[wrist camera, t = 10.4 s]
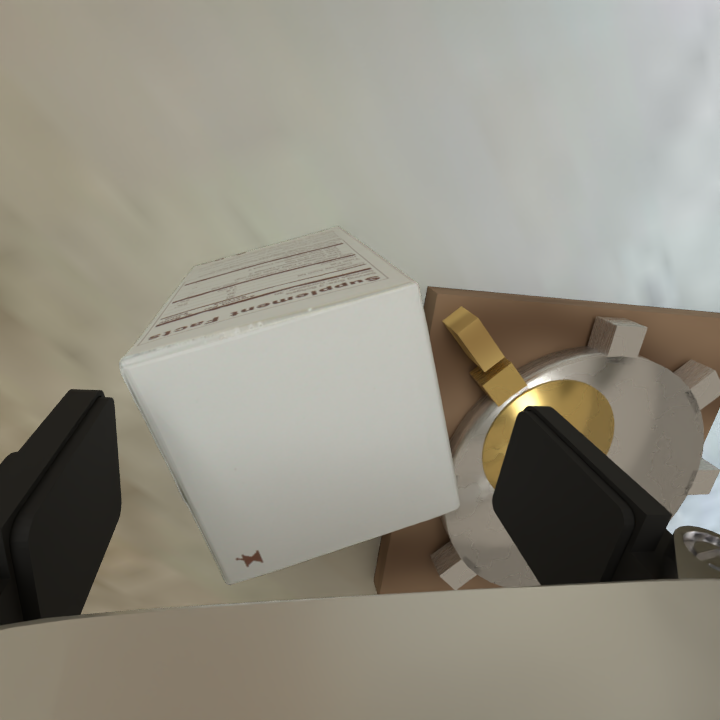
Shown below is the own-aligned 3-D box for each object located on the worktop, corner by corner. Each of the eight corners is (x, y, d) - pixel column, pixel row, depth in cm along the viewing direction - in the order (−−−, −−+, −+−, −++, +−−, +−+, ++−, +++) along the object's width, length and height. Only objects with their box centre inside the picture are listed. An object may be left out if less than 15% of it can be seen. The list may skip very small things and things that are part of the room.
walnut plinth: (626, 566, 36) (662, 604, 33) (373, 580, 31) (386, 626, 28) (734, 314, 29) (793, 332, 26) (427, 286, 24) (452, 304, 21)
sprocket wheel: (741, 466, 31) (842, 529, 26) (511, 631, 33) (560, 721, 28) (635, 241, 24) (747, 263, 18) (342, 473, 25) (364, 557, 20)
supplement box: (374, 358, 25) (467, 518, 14) (239, 397, 25) (219, 598, 13) (342, 220, 22) (427, 277, 11) (187, 260, 22) (103, 366, 10)
